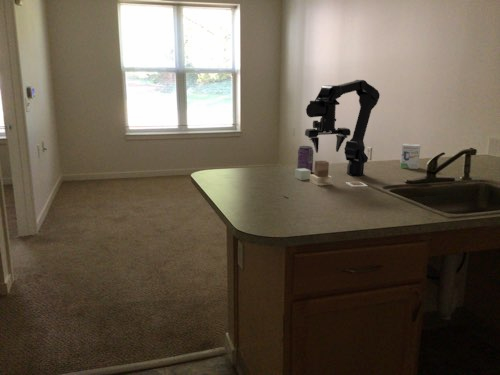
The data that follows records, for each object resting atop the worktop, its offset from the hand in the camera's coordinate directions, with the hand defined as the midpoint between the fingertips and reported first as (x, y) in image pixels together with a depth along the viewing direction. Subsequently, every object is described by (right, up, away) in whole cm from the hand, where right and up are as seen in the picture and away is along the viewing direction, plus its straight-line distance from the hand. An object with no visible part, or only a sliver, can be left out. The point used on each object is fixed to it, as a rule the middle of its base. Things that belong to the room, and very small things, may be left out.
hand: (327, 152), depth 193 cm
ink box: (+47, -6, +31) cm, 57 cm away
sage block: (-10, -11, +4) cm, 16 cm away
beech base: (-3, -14, -4) cm, 15 cm away
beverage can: (-8, -8, +17) cm, 20 cm away
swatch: (+11, -14, -6) cm, 19 cm away
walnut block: (-3, -10, -5) cm, 12 cm away
